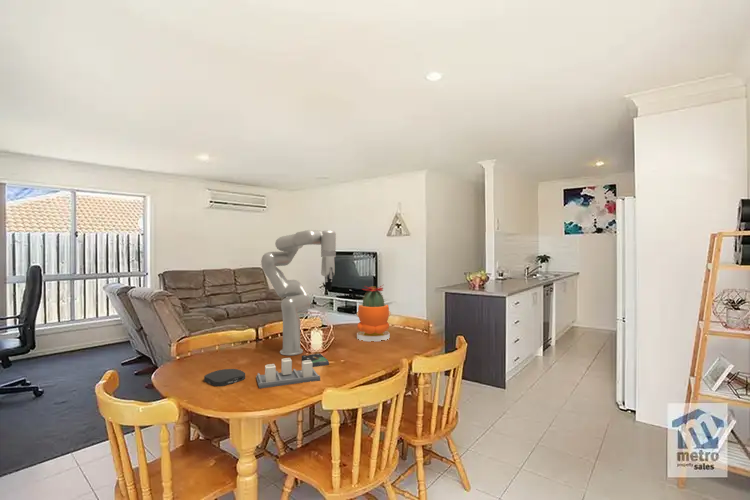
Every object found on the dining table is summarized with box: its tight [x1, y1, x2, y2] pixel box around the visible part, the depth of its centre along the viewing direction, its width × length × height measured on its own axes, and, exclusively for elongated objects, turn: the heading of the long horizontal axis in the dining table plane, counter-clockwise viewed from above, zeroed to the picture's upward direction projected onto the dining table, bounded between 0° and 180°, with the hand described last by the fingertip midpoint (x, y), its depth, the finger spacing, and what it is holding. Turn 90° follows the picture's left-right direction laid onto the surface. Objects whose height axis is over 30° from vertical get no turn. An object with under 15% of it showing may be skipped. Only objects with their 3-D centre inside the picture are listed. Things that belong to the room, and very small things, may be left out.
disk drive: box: [301, 353, 330, 368], centre depth 193 cm, size 10×3×15 cm
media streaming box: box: [203, 368, 246, 387], centre depth 167 cm, size 15×15×3 cm
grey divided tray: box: [255, 368, 321, 389], centre depth 168 cm, size 14×26×2 cm, turn 113°
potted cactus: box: [356, 284, 392, 342], centre depth 242 cm, size 22×22×35 cm
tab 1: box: [264, 363, 277, 382], centre depth 162 cm, size 4×4×7 cm
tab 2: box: [280, 357, 293, 375], centre depth 171 cm, size 4×4×7 cm
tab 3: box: [301, 360, 314, 377], centre depth 168 cm, size 4×4×7 cm
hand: (328, 289), depth 195 cm, fingers closed
